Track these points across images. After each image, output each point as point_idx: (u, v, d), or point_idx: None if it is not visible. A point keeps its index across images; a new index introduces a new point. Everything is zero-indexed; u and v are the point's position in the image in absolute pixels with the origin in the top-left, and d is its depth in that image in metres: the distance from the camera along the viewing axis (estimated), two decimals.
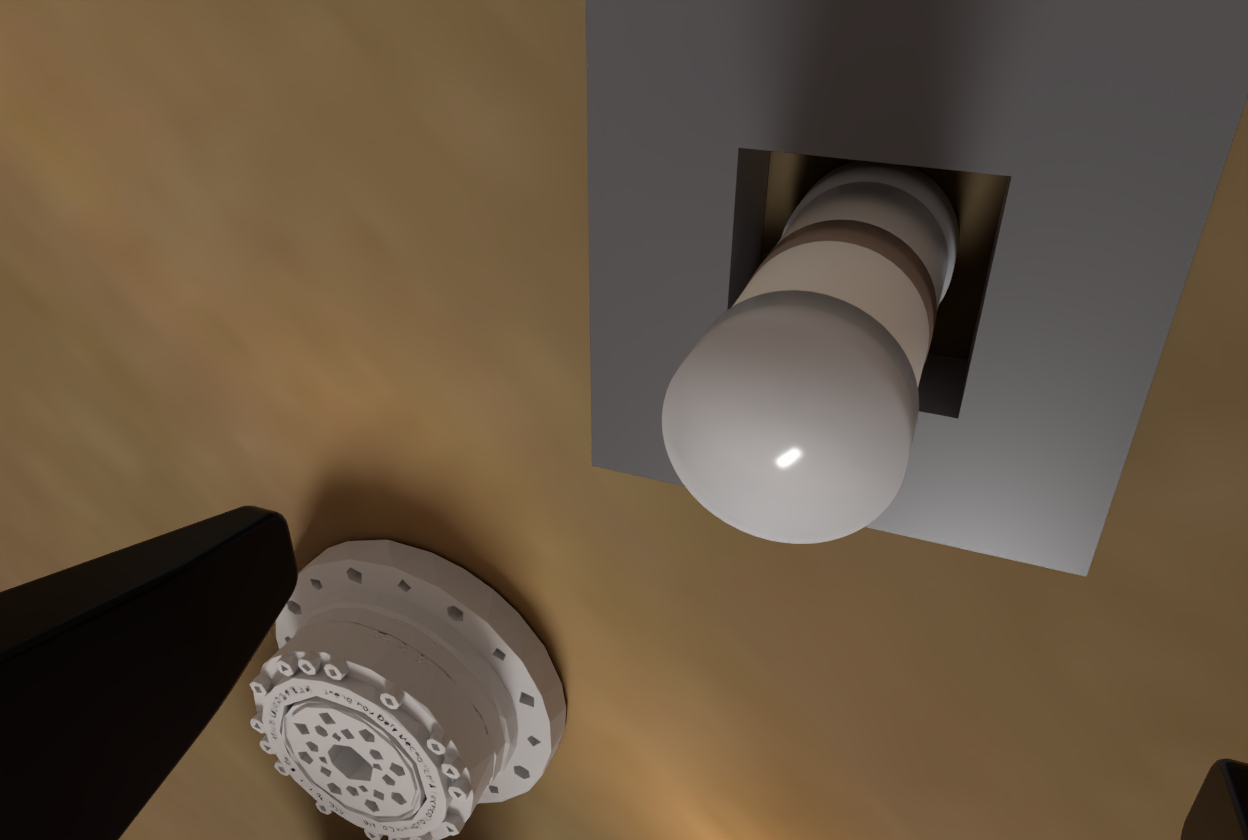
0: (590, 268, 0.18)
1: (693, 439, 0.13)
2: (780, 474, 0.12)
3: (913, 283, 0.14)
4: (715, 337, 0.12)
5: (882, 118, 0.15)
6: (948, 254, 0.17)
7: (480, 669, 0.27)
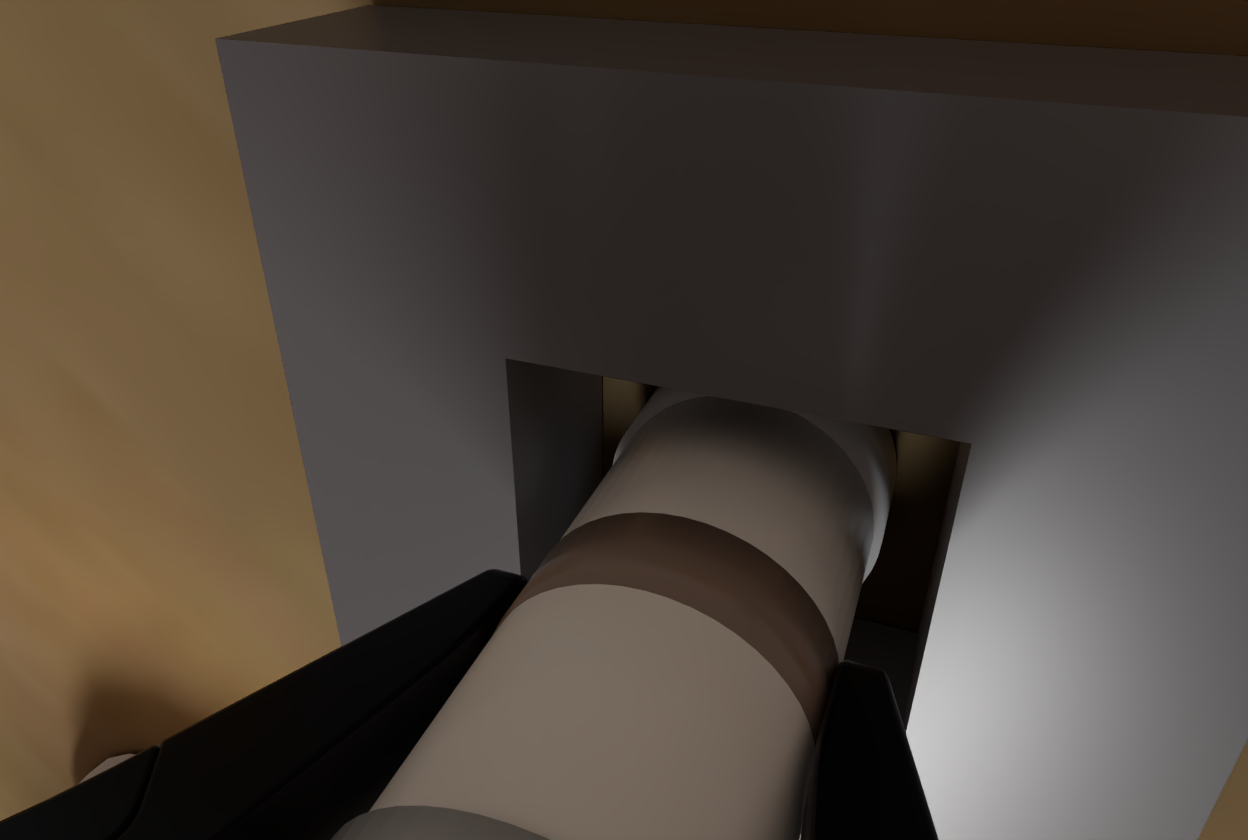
0: (314, 511, 0.11)
1: None
2: None
3: (781, 672, 0.07)
4: None
5: (737, 330, 0.08)
6: (875, 509, 0.10)
7: None
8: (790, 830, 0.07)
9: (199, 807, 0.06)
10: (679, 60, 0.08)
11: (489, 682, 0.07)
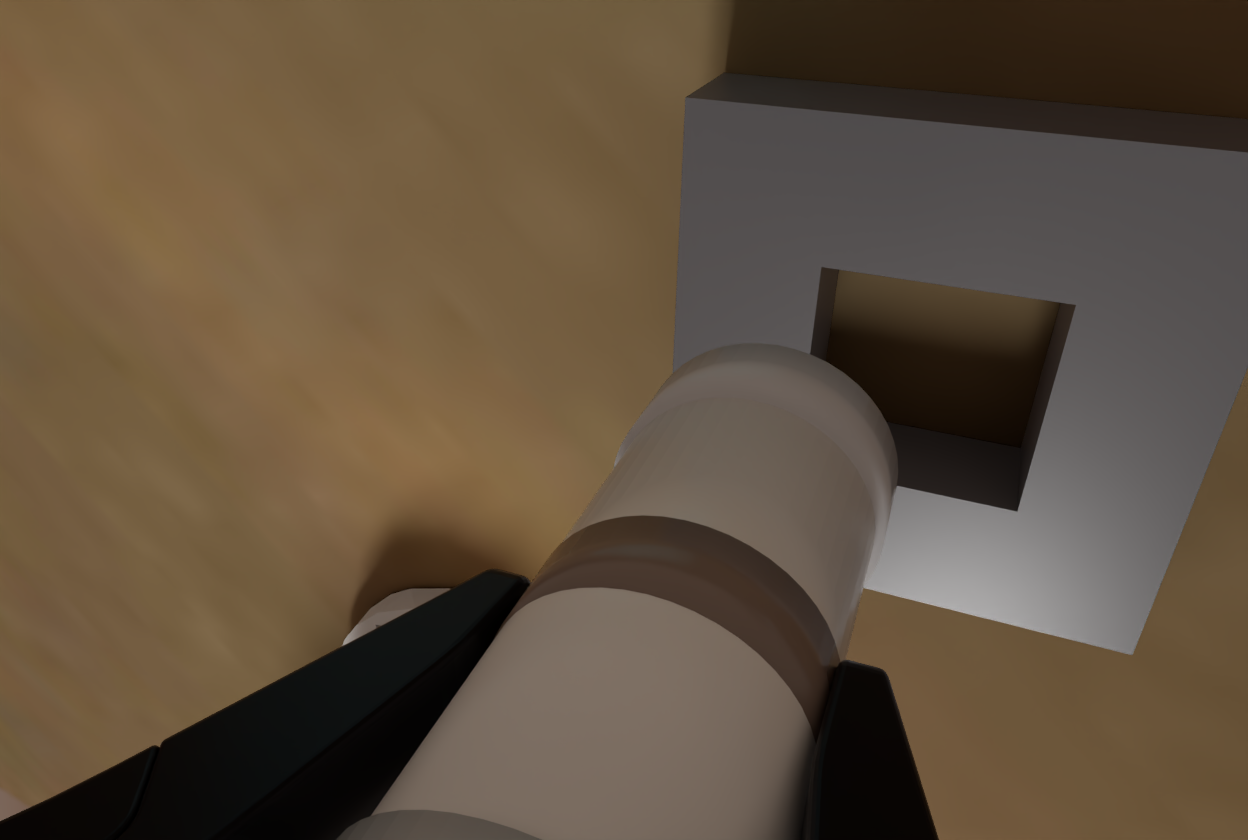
0: (674, 364, 0.20)
1: None
2: None
3: (784, 675, 0.07)
4: None
5: (957, 249, 0.16)
6: (877, 512, 0.10)
7: None
8: (792, 834, 0.07)
9: (200, 807, 0.06)
10: (936, 114, 0.16)
11: (491, 685, 0.07)
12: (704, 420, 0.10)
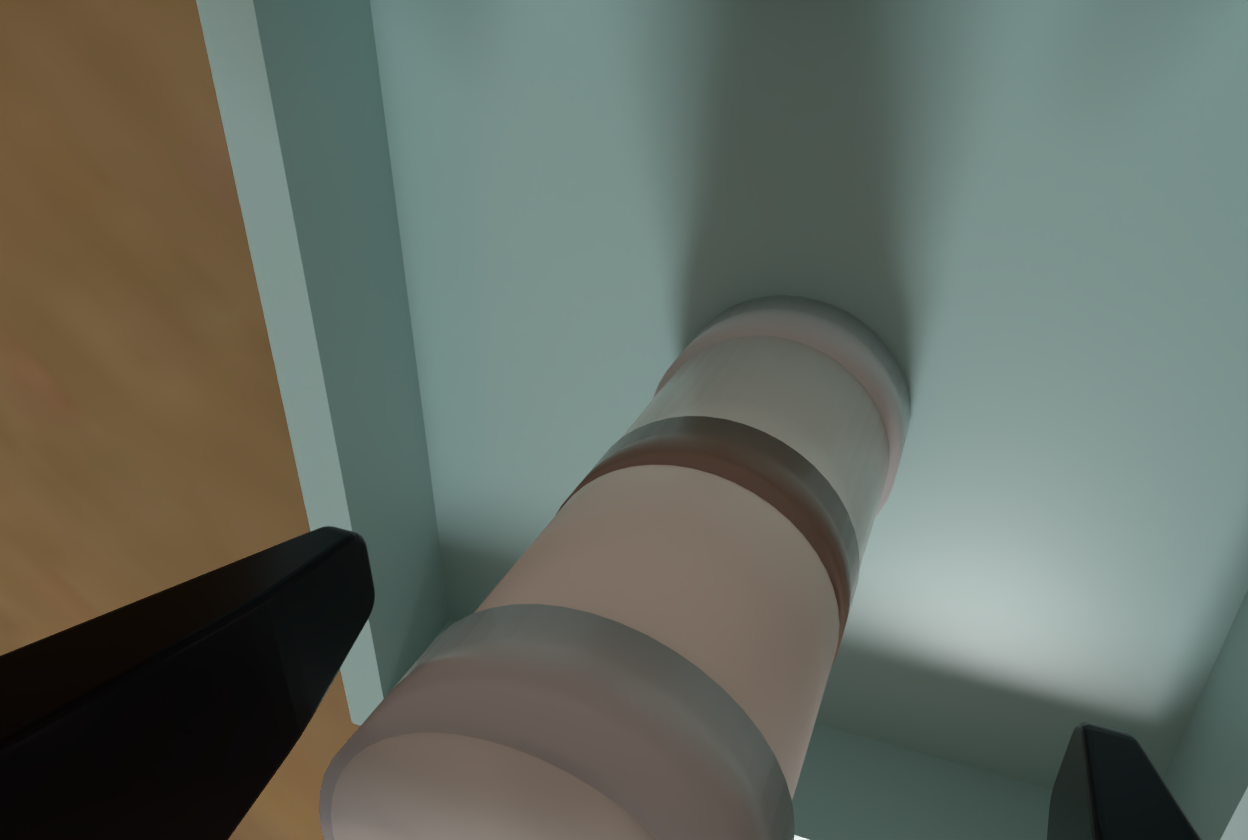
0: None
1: None
2: None
3: (810, 541, 0.08)
4: (383, 722, 0.06)
5: None
6: (890, 443, 0.11)
7: None
8: (818, 668, 0.08)
9: None
10: None
11: (559, 534, 0.08)
12: (737, 351, 0.11)
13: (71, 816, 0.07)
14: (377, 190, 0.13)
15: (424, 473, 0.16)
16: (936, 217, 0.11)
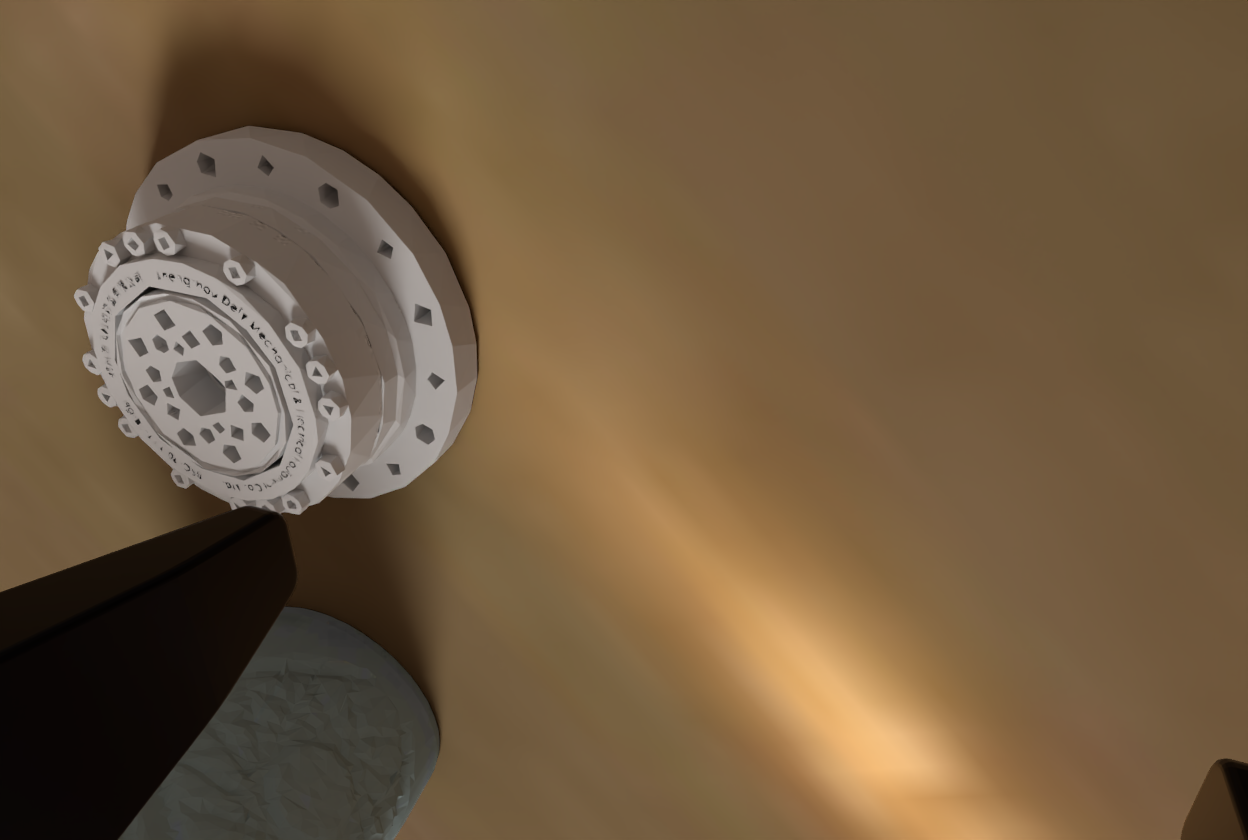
0: None
1: None
2: None
3: None
4: None
5: None
6: None
7: (361, 268, 0.21)
8: None
9: None
10: None
11: None
12: None
13: None
14: None
15: None
16: None
